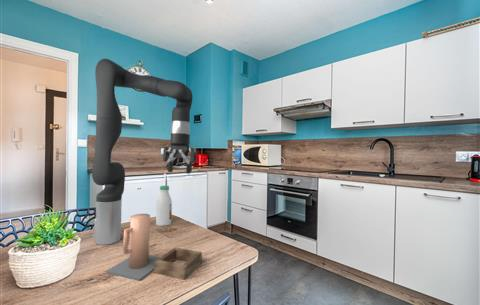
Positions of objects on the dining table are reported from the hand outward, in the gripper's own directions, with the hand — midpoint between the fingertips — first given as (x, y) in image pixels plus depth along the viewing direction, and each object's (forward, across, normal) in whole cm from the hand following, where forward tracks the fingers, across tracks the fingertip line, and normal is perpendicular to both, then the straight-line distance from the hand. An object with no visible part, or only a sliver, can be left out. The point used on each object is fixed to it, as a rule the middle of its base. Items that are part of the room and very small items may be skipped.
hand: (179, 172), depth 88 cm
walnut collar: (+30, +10, -14) cm, 34 cm away
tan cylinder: (+29, -3, -19) cm, 35 cm away
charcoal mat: (+30, -3, -18) cm, 35 cm away
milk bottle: (+30, -22, +20) cm, 42 cm away
